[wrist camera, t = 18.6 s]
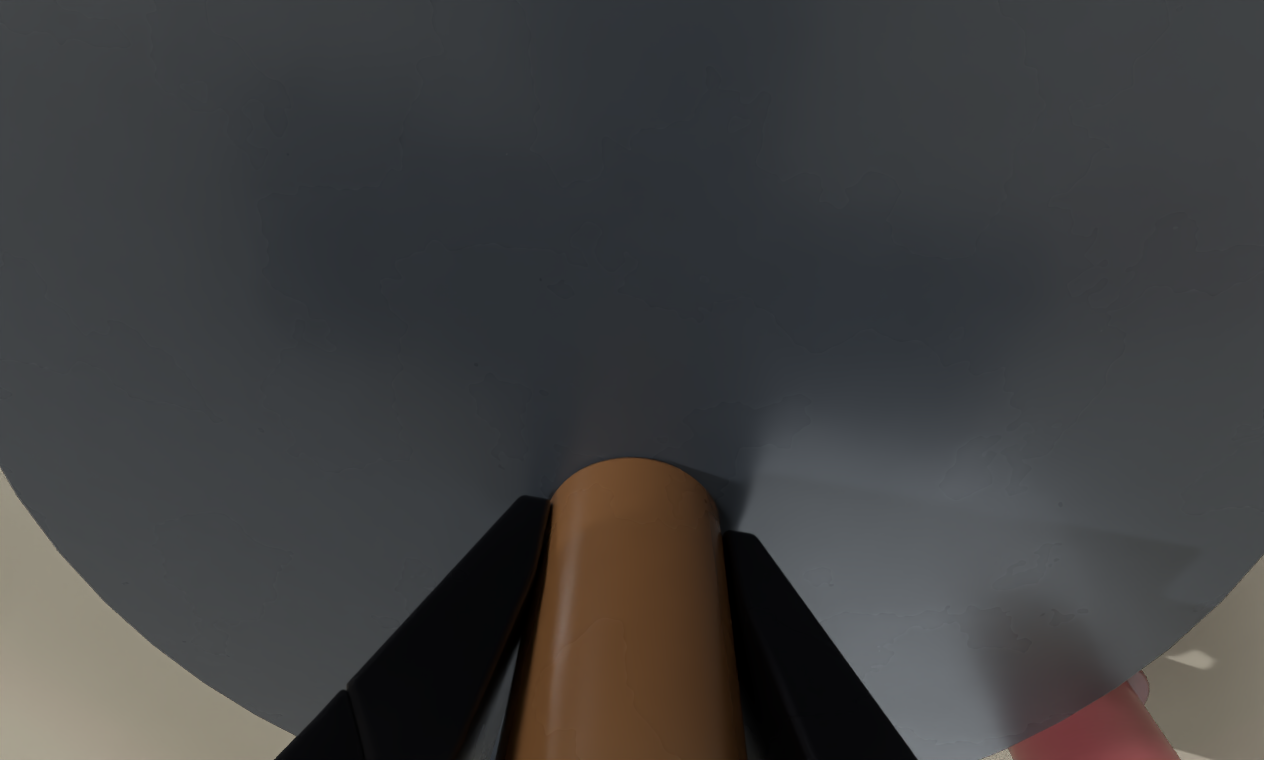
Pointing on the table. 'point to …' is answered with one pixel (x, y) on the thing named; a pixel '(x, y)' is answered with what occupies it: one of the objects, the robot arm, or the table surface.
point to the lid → (643, 338)
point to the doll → (1103, 731)
